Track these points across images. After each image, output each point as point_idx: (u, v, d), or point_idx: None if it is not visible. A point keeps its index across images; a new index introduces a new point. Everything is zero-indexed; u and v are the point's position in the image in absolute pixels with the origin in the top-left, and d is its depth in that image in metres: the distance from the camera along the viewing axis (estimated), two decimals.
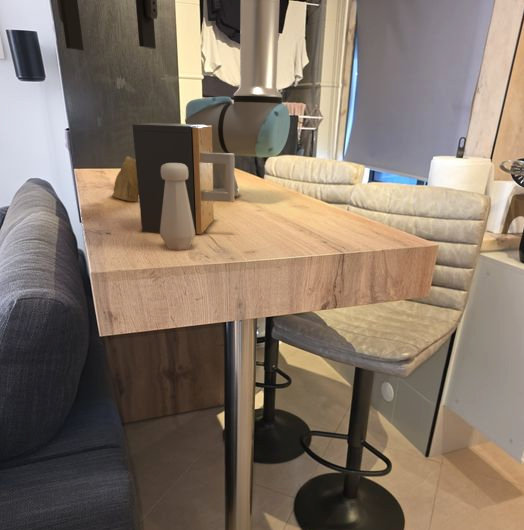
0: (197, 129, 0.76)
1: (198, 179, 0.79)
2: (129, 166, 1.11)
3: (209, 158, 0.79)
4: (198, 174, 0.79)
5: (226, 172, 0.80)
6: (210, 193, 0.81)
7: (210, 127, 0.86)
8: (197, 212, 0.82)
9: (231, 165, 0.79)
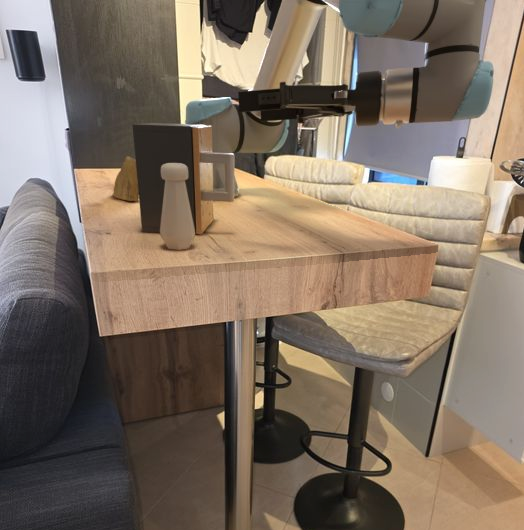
0: (197, 129, 0.76)
1: (198, 179, 0.79)
2: (129, 166, 1.11)
3: (209, 158, 0.79)
4: (198, 174, 0.79)
5: (226, 172, 0.80)
6: (210, 193, 0.81)
7: (210, 127, 0.86)
8: (197, 212, 0.82)
9: (231, 165, 0.79)
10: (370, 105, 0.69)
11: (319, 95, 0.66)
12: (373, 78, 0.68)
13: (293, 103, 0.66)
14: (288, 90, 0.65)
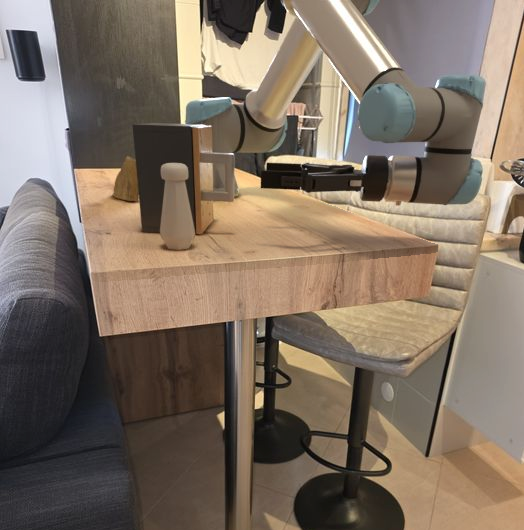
0: (197, 129, 0.76)
1: (198, 179, 0.79)
2: (129, 166, 1.11)
3: (209, 158, 0.79)
4: (198, 174, 0.79)
5: (226, 172, 0.80)
6: (210, 193, 0.81)
7: (210, 127, 0.86)
8: (197, 212, 0.82)
9: (231, 165, 0.79)
10: (378, 189, 0.77)
11: (338, 183, 0.72)
12: (382, 166, 0.75)
13: (315, 191, 0.72)
14: (312, 180, 0.71)
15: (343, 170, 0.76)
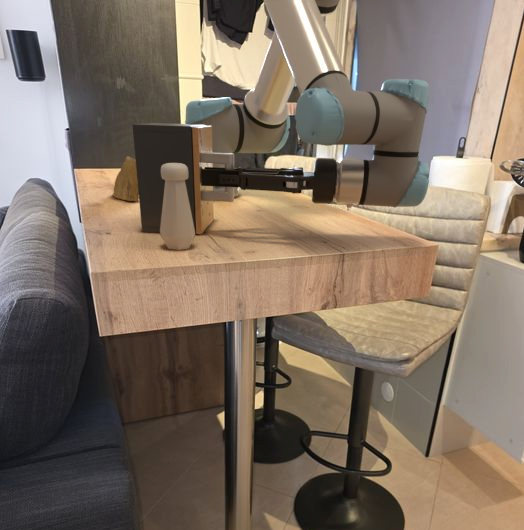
0: (197, 129, 0.76)
1: (198, 179, 0.79)
2: (129, 166, 1.11)
3: (209, 158, 0.79)
4: (198, 174, 0.79)
5: None
6: (210, 193, 0.81)
7: (210, 127, 0.86)
8: (197, 212, 0.82)
9: (231, 165, 0.79)
10: (326, 192, 0.77)
11: (272, 183, 0.75)
12: (330, 168, 0.76)
13: (249, 188, 0.77)
14: (245, 178, 0.76)
15: (287, 172, 0.78)
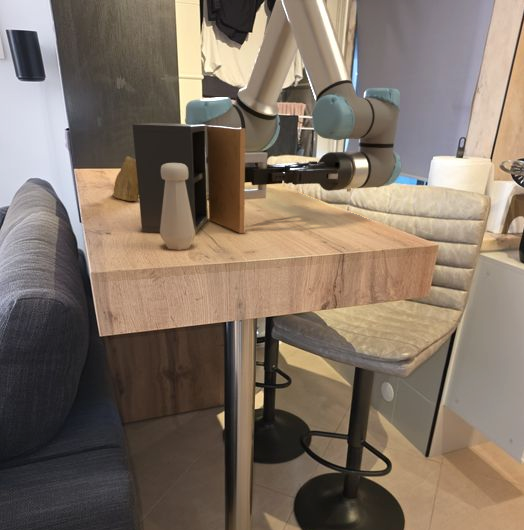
0: (244, 130, 0.78)
1: (243, 179, 0.81)
2: (129, 166, 1.11)
3: (249, 158, 0.82)
4: (243, 174, 0.81)
5: None
6: (248, 192, 0.84)
7: None
8: (241, 211, 0.84)
9: (266, 163, 0.84)
10: (346, 180, 0.93)
11: (319, 176, 0.87)
12: (347, 160, 0.92)
13: (301, 183, 0.85)
14: (298, 174, 0.84)
15: (317, 166, 0.90)
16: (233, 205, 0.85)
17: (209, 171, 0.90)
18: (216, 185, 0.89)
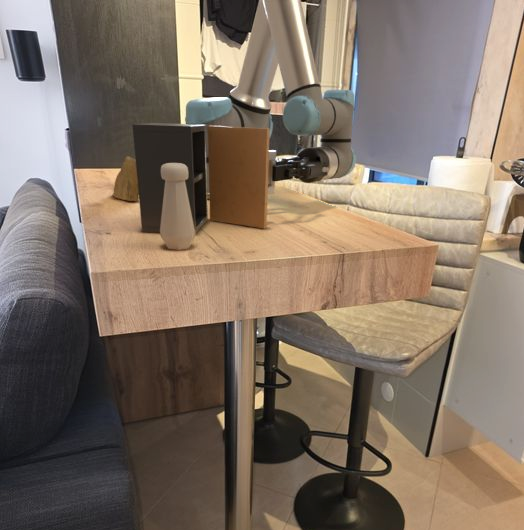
0: (269, 130, 0.82)
1: (267, 176, 0.86)
2: (129, 166, 1.11)
3: None
4: (267, 172, 0.85)
5: (272, 167, 0.89)
6: None
7: None
8: (265, 208, 0.88)
9: (275, 160, 0.89)
10: None
11: (318, 170, 0.95)
12: (324, 155, 1.03)
13: (310, 177, 0.93)
14: (309, 169, 0.92)
15: (307, 160, 0.98)
16: (254, 202, 0.88)
17: (211, 171, 0.90)
18: (224, 185, 0.90)
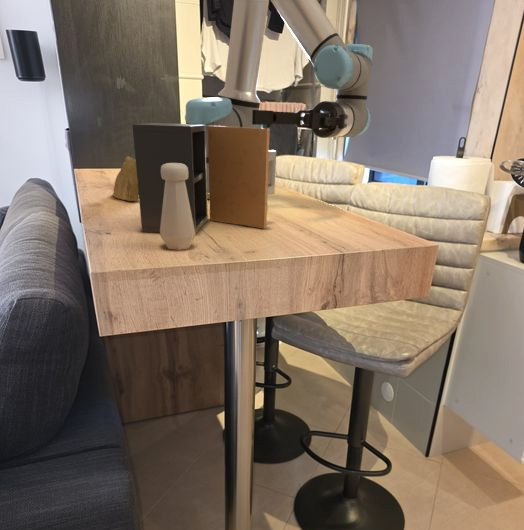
0: (269, 130, 0.82)
1: (267, 176, 0.86)
2: (129, 166, 1.11)
3: None
4: (267, 172, 0.85)
5: (272, 167, 0.89)
6: None
7: None
8: (265, 208, 0.88)
9: (275, 160, 0.89)
10: None
11: None
12: (340, 108, 1.03)
13: None
14: None
15: None
16: (254, 202, 0.88)
17: (211, 171, 0.90)
18: (224, 185, 0.90)
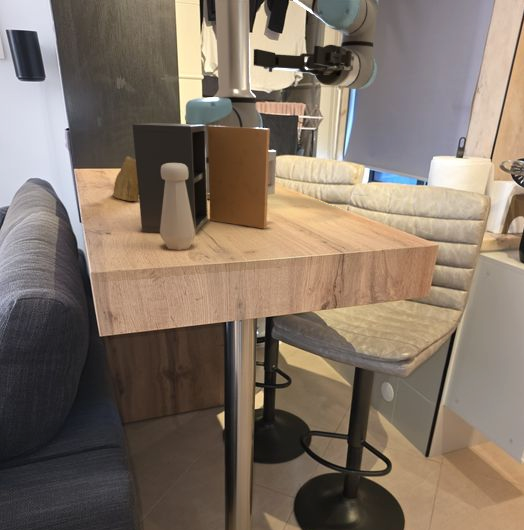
0: (269, 130, 0.82)
1: (267, 176, 0.86)
2: (129, 166, 1.11)
3: None
4: (267, 172, 0.85)
5: (272, 167, 0.89)
6: None
7: None
8: (265, 208, 0.88)
9: (275, 160, 0.89)
10: (346, 72, 0.99)
11: None
12: (346, 52, 0.98)
13: None
14: None
15: None
16: (254, 202, 0.88)
17: (211, 171, 0.90)
18: (224, 185, 0.90)
